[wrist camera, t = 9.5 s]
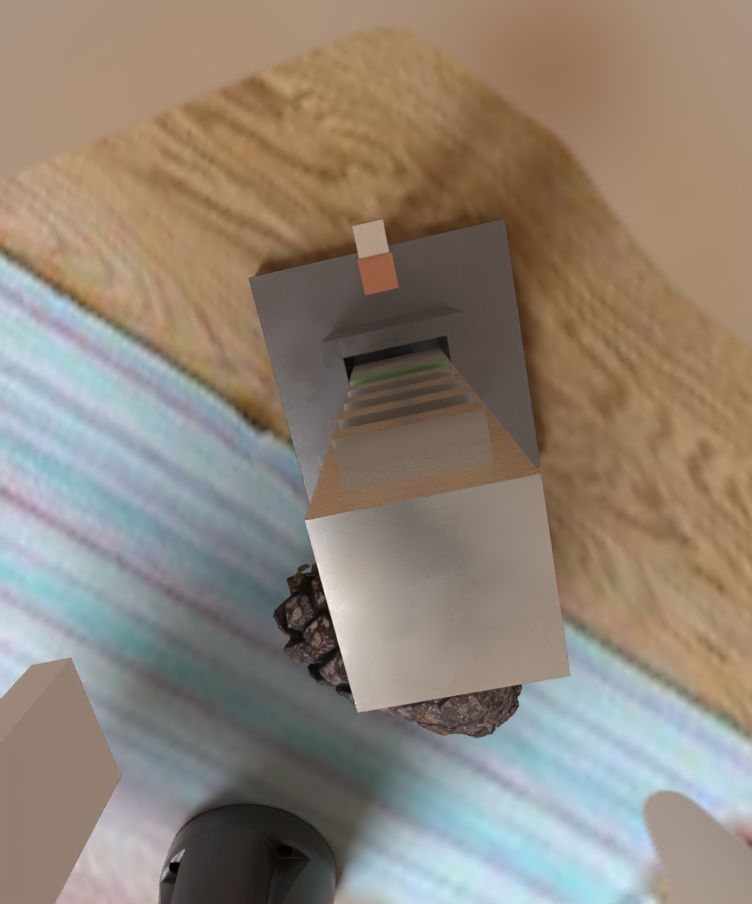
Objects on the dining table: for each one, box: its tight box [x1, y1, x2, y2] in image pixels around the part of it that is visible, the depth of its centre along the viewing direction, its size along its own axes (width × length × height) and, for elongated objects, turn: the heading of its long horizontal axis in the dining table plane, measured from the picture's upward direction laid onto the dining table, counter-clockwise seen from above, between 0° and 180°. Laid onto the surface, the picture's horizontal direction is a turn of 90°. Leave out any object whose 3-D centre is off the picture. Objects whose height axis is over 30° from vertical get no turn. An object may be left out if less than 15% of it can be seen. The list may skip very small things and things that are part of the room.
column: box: [305, 348, 570, 713], centre depth 21 cm, size 4×5×20 cm
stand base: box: [249, 219, 540, 504], centre depth 30 cm, size 16×16×19 cm
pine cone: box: [273, 563, 522, 738], centre depth 40 cm, size 10×18×10 cm, turn 85°
